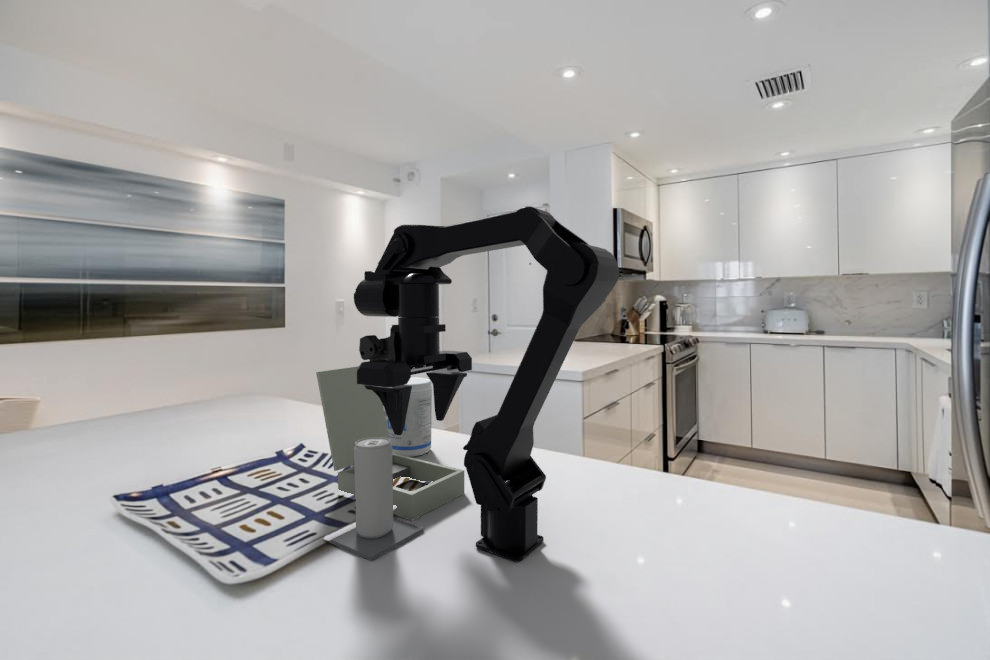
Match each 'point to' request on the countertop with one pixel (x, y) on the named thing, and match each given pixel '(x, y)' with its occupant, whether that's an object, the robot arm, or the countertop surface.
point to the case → (423, 499)
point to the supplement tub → (415, 421)
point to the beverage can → (373, 487)
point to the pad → (378, 540)
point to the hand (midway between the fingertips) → (420, 427)
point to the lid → (349, 413)
